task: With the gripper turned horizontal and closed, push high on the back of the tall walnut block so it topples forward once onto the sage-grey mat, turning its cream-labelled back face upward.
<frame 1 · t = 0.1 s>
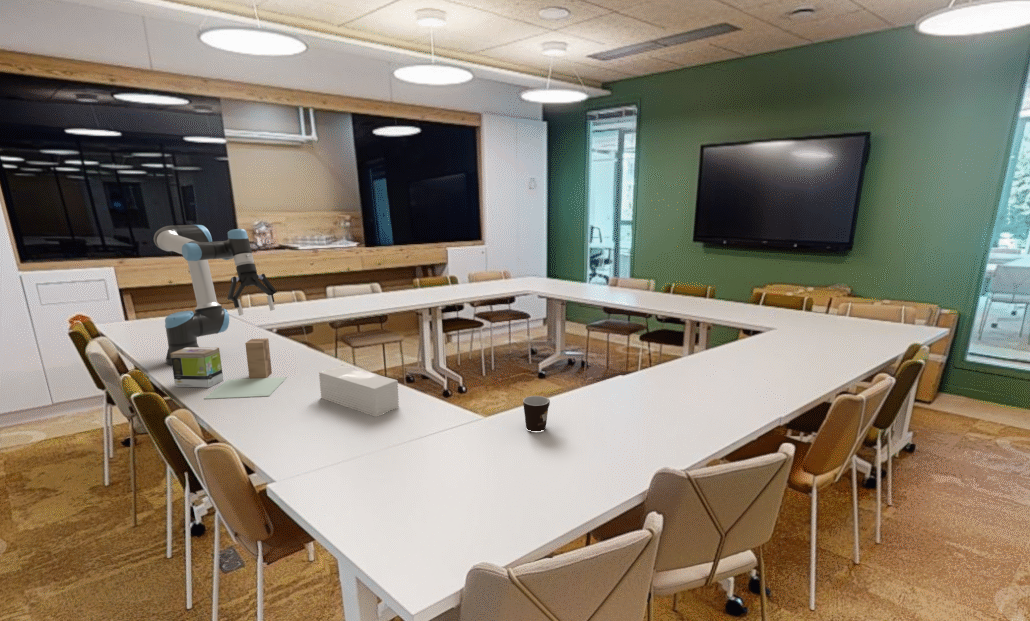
hand: (257, 312, 225), 28 cm above the table, tool tilted 20°, fingers open, 13 cm apart
coffee mug: (539, 428, 174), on the table
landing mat: (247, 387, 212), on the table
walnut block: (260, 376, 227), on the table
stack of papers: (359, 403, 196), on the table
tea box: (199, 384, 217), on the table
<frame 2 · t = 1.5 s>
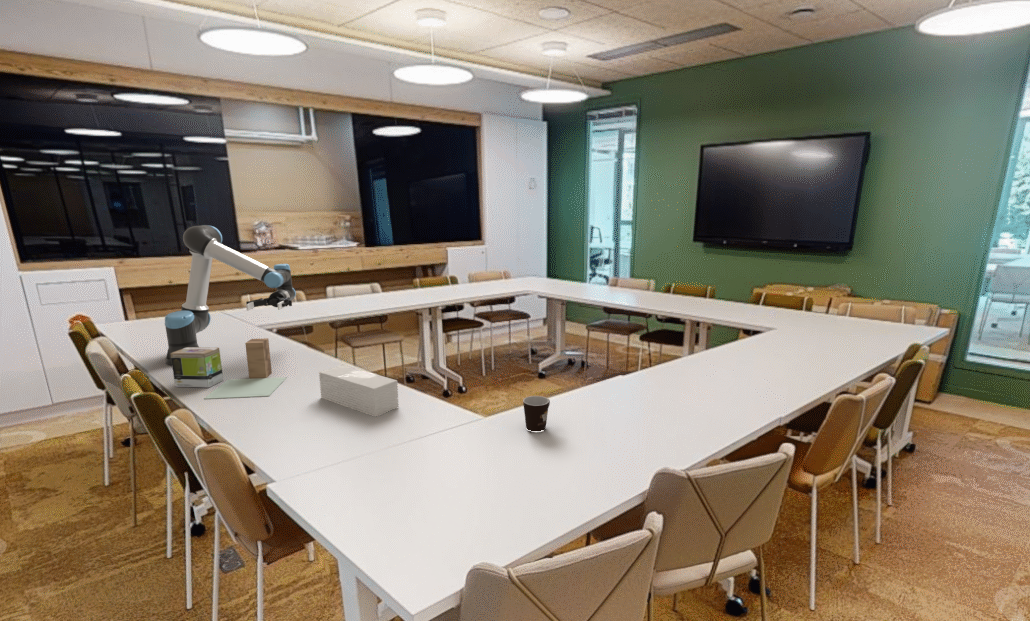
hand: (262, 307, 232), 28 cm above the table, tool horizontal, fingers open, 13 cm apart
nothing on the table moved.
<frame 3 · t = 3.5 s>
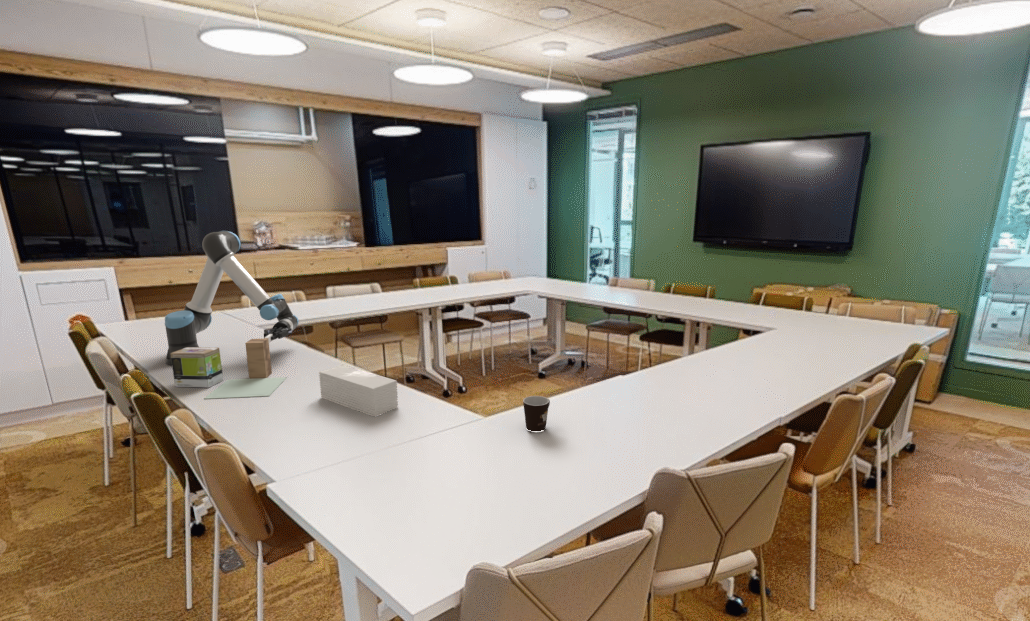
hand: (266, 340, 232), 14 cm above the table, tool horizontal, fingers closed
nothing on the table moved.
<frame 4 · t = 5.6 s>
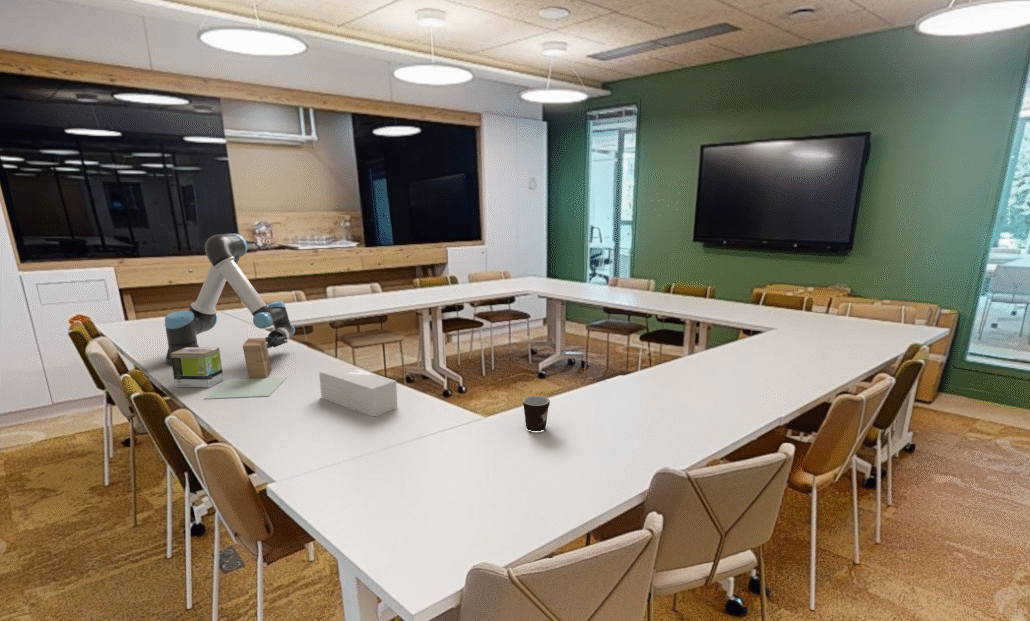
hand: (261, 348, 226), 12 cm above the table, tool horizontal, fingers closed
walnut block: (260, 374, 226), point 1 cm above the table, tilted 12°
everything else where it was.
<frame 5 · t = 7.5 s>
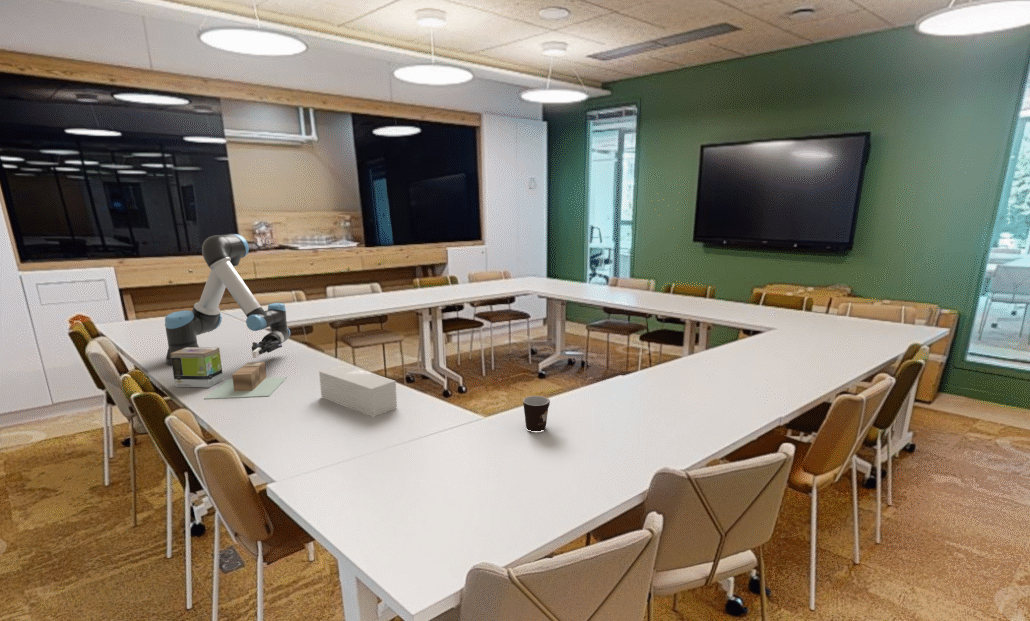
hand: (254, 354, 220), 11 cm above the table, tool horizontal, fingers closed
walnut block: (257, 370, 223), point 4 cm above the table, tilted 90°, touching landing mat
everything else where it was.
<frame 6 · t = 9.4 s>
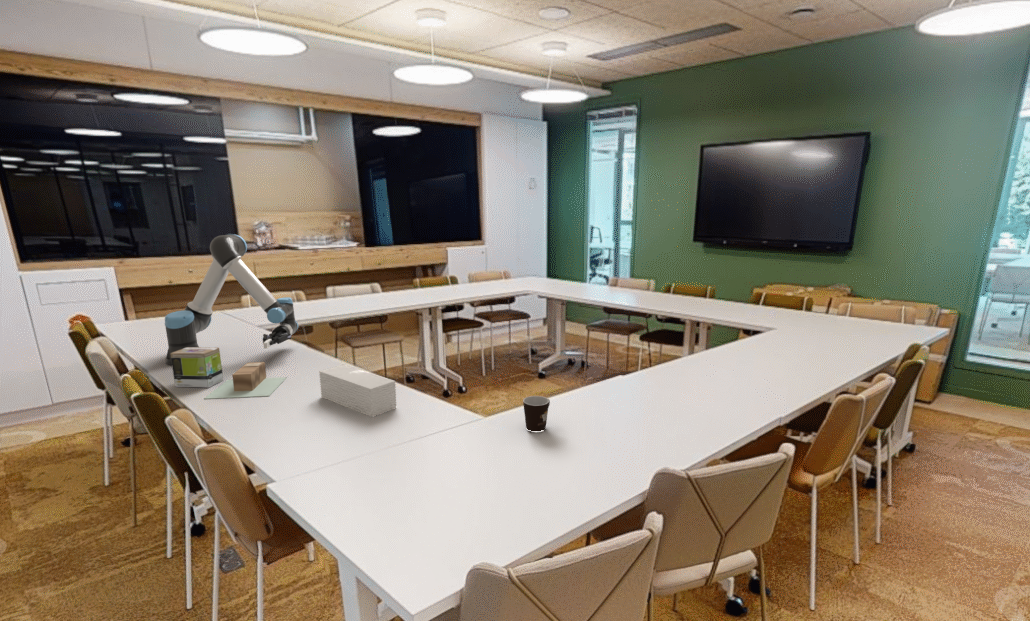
hand: (265, 345, 233), 11 cm above the table, tool horizontal, fingers closed
nothing on the table moved.
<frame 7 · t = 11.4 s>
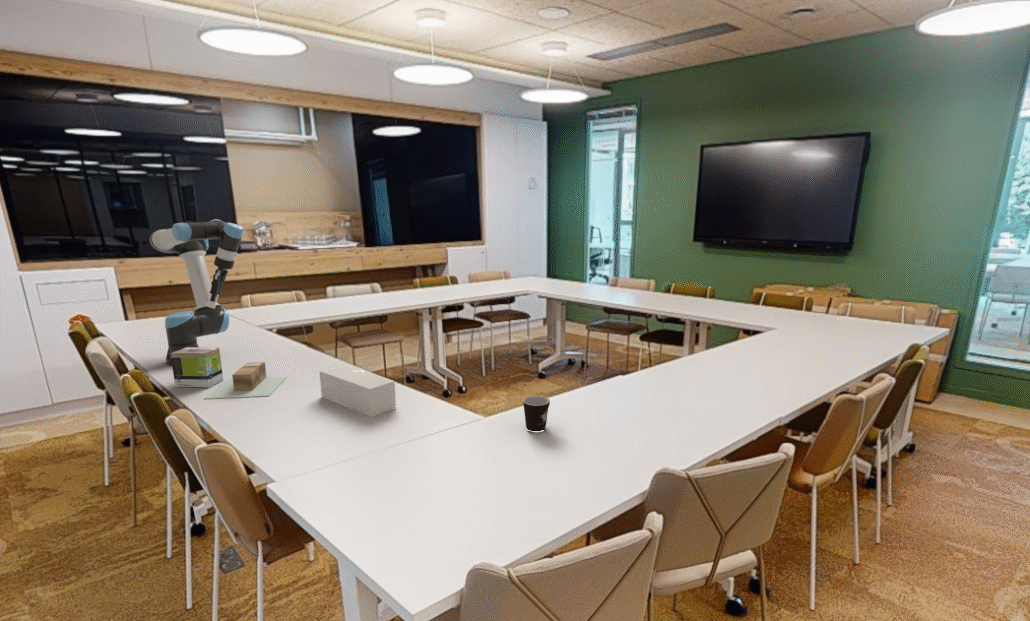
hand: (211, 307, 232), 28 cm above the table, tool tilted 20°, fingers closed
nothing on the table moved.
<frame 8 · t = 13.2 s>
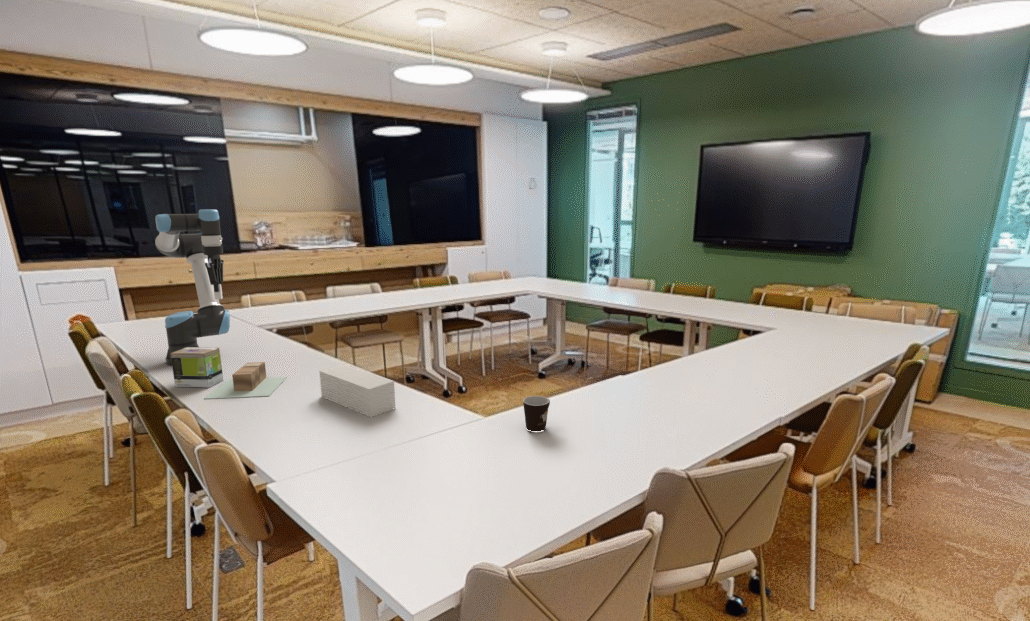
hand: (218, 298, 230), 32 cm above the table, tool pointing down, fingers closed
nothing on the table moved.
at the end: walnut block tilted 90°; walnut block inside the target area (2.1 cm from its centre), point 3.8 cm above the table; walnut block touching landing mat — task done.
